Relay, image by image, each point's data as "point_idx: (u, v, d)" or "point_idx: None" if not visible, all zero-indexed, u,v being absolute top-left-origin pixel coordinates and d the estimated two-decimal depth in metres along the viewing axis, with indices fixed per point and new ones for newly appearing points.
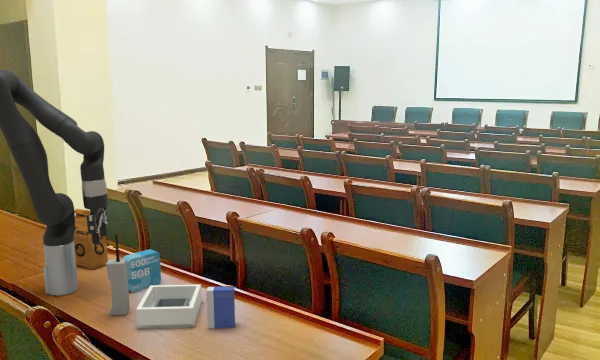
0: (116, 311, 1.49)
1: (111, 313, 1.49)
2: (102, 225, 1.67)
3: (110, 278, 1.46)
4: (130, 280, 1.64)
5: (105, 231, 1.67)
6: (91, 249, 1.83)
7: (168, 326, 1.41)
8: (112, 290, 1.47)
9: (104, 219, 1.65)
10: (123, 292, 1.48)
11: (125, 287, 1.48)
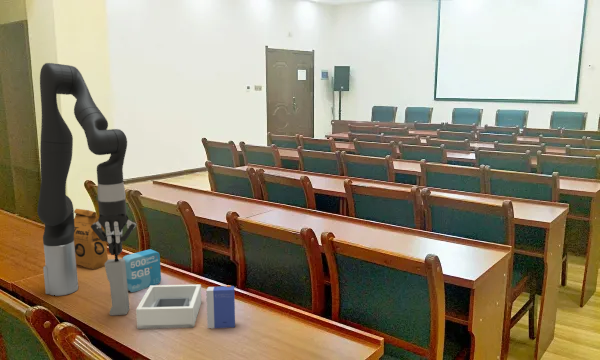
0: (116, 310, 1.49)
1: (111, 313, 1.49)
2: (113, 241, 1.46)
3: (109, 278, 1.46)
4: (130, 280, 1.64)
5: None
6: (91, 249, 1.83)
7: (168, 326, 1.41)
8: (111, 290, 1.47)
9: None
10: (122, 292, 1.48)
11: (124, 287, 1.48)
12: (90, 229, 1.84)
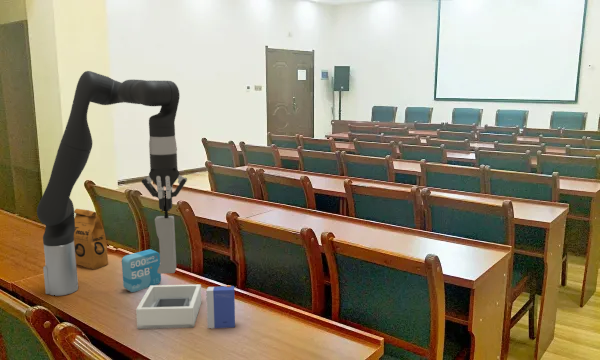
0: (165, 268, 1.45)
1: (159, 271, 1.45)
2: (163, 197, 1.43)
3: (159, 234, 1.43)
4: (130, 280, 1.64)
5: (164, 204, 1.44)
6: (91, 249, 1.83)
7: (168, 326, 1.41)
8: (160, 247, 1.44)
9: None
10: (172, 249, 1.44)
11: (173, 244, 1.45)
12: (90, 229, 1.84)
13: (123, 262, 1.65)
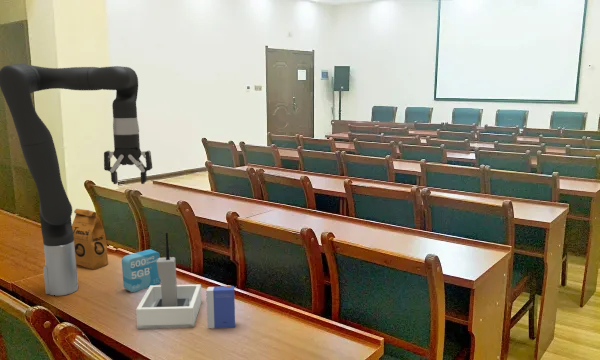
0: None
1: None
2: (115, 171, 1.54)
3: (160, 276, 1.45)
4: (130, 280, 1.64)
5: None
6: (91, 249, 1.83)
7: (168, 326, 1.41)
8: (162, 288, 1.46)
9: None
10: (173, 290, 1.47)
11: (175, 285, 1.47)
12: (90, 229, 1.84)
13: (123, 262, 1.65)
